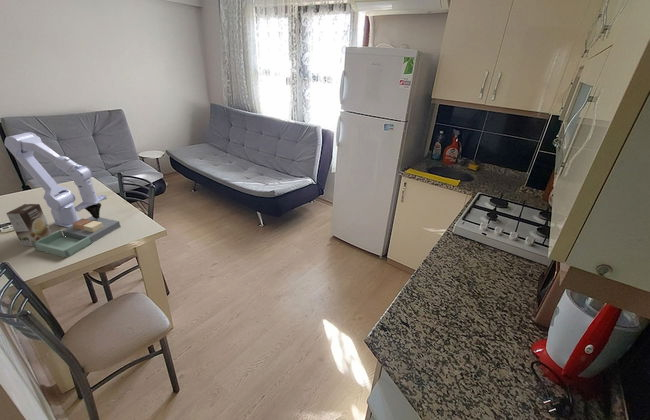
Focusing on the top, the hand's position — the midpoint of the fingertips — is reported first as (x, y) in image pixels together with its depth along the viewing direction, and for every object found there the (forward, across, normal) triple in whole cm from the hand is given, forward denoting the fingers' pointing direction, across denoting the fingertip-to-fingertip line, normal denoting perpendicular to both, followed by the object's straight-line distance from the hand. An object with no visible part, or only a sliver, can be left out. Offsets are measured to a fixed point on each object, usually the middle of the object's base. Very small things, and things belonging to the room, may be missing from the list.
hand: (96, 217), depth 143 cm
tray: (+4, -19, -3) cm, 20 cm away
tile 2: (+1, -7, -6) cm, 10 cm away
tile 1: (+1, -7, 0) cm, 7 cm away
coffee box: (+4, -19, +12) cm, 23 cm away
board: (+4, -6, -3) cm, 7 cm away
